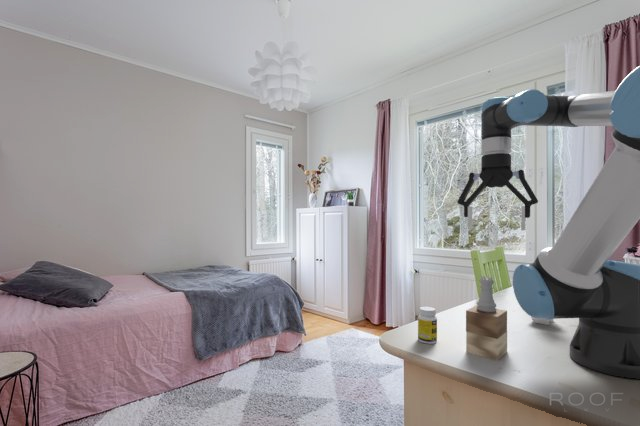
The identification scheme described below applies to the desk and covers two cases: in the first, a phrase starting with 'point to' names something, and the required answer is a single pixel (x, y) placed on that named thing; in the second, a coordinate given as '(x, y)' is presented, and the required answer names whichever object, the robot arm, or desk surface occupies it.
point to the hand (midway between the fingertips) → (495, 229)
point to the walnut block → (486, 322)
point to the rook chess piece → (486, 296)
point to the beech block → (486, 345)
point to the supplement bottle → (427, 325)
